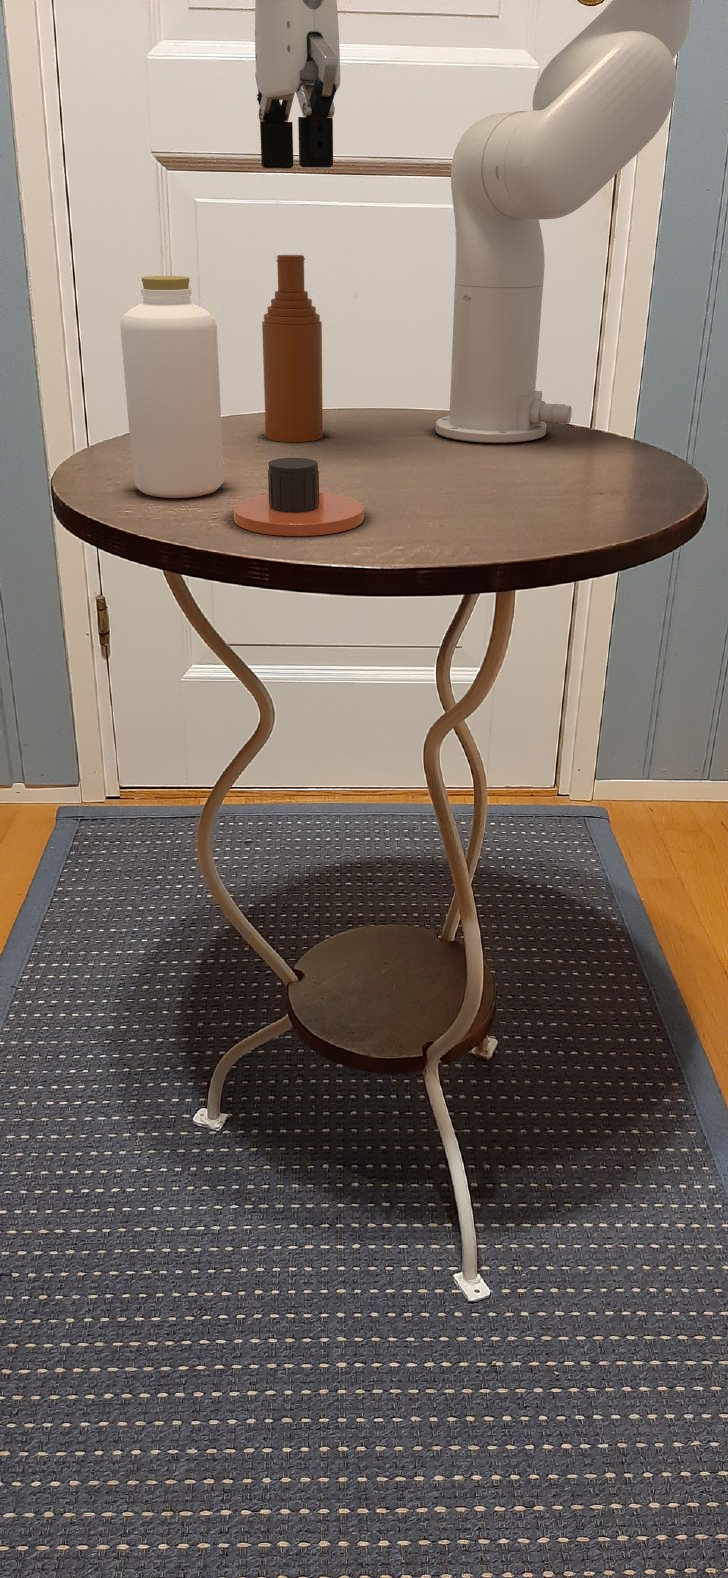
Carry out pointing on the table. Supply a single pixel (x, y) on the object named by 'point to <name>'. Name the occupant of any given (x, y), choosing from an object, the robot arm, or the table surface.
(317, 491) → the cap
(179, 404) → the potion bottle
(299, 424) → the sauce bottle
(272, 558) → the table surface
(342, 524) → the orange round coaster
